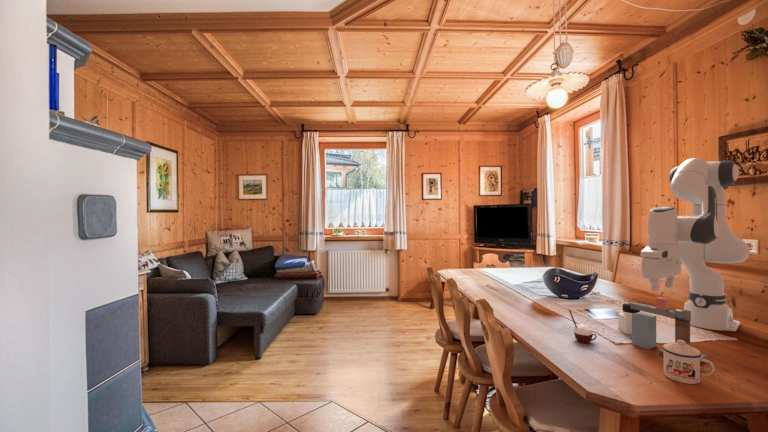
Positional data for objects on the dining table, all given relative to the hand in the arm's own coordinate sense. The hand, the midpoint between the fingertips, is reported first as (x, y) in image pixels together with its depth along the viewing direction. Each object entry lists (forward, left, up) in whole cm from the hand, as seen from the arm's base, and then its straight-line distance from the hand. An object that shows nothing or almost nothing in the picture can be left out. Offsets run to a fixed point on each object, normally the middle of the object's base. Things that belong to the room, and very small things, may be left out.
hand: (662, 288), depth 126 cm
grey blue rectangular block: (0, -6, -23) cm, 24 cm away
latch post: (0, +6, -23) cm, 24 cm away
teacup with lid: (+17, +14, -23) cm, 32 cm away
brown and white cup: (+16, -20, -23) cm, 35 cm away
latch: (0, -1, -10) cm, 10 cm away
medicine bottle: (-11, -16, -23) cm, 30 cm away
